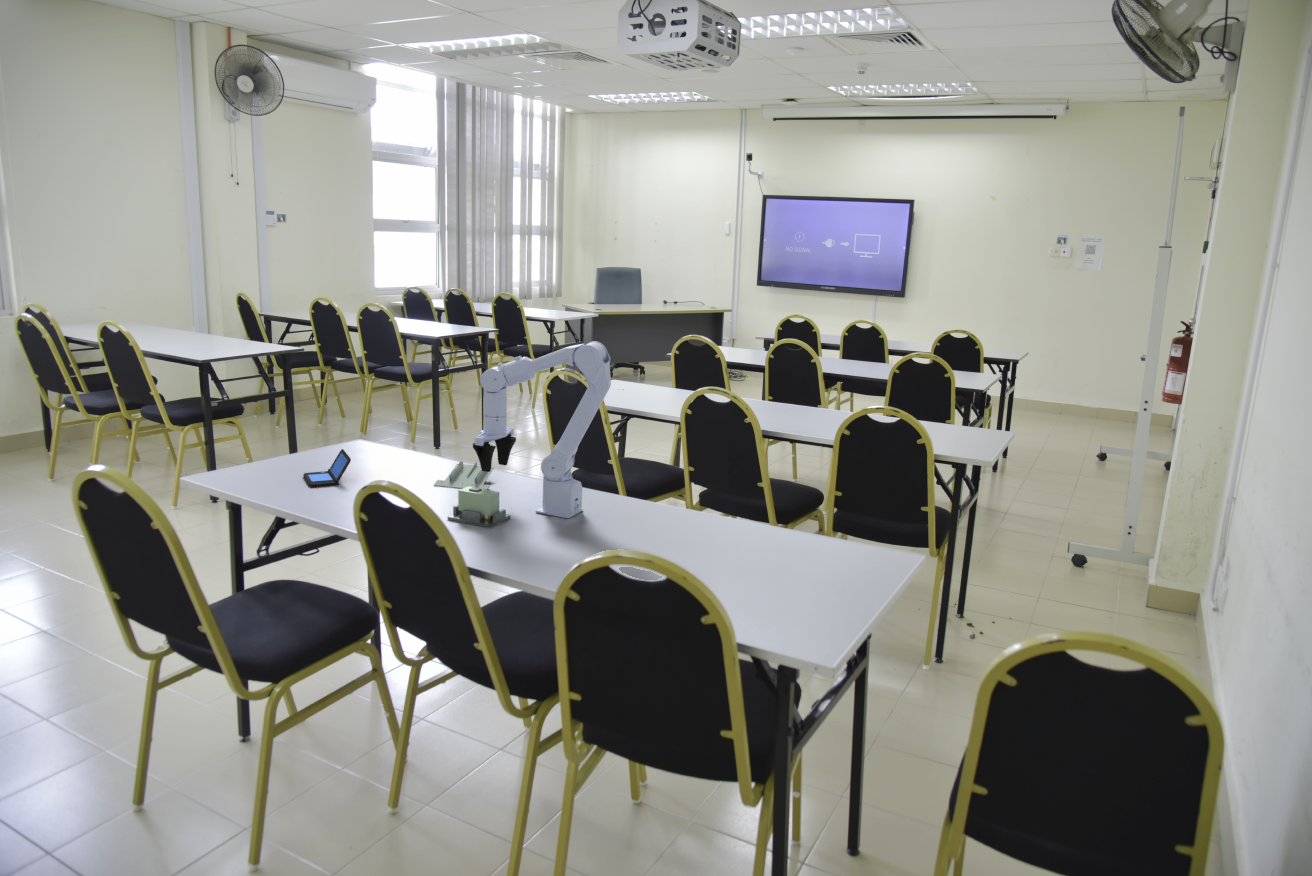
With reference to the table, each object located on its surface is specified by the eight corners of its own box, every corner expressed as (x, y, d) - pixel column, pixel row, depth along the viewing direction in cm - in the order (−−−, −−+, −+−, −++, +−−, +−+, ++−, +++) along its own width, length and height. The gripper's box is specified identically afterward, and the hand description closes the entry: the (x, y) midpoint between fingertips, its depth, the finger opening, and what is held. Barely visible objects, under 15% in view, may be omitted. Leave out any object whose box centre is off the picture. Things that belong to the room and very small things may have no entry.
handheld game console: (302, 477, 236) (301, 450, 234) (343, 473, 241) (342, 448, 240) (309, 489, 225) (308, 461, 224) (352, 485, 231) (351, 458, 229)
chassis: (510, 517, 210) (510, 507, 209) (490, 528, 201) (490, 516, 201) (469, 510, 214) (469, 499, 213) (447, 519, 206) (447, 508, 205)
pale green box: (499, 511, 207) (499, 490, 206) (490, 516, 204) (490, 494, 203) (468, 505, 211) (468, 484, 210) (458, 510, 207) (458, 488, 206)
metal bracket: (451, 456, 243) (501, 460, 241) (453, 473, 246) (503, 478, 244) (430, 482, 231) (483, 487, 229) (433, 500, 234) (485, 505, 231)
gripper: (497, 408, 222) (497, 459, 225) (464, 418, 208) (464, 471, 211) (520, 412, 219) (520, 463, 222) (488, 421, 206) (488, 476, 209)
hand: (494, 467), depth 217 cm, fingers open, 7 cm apart
